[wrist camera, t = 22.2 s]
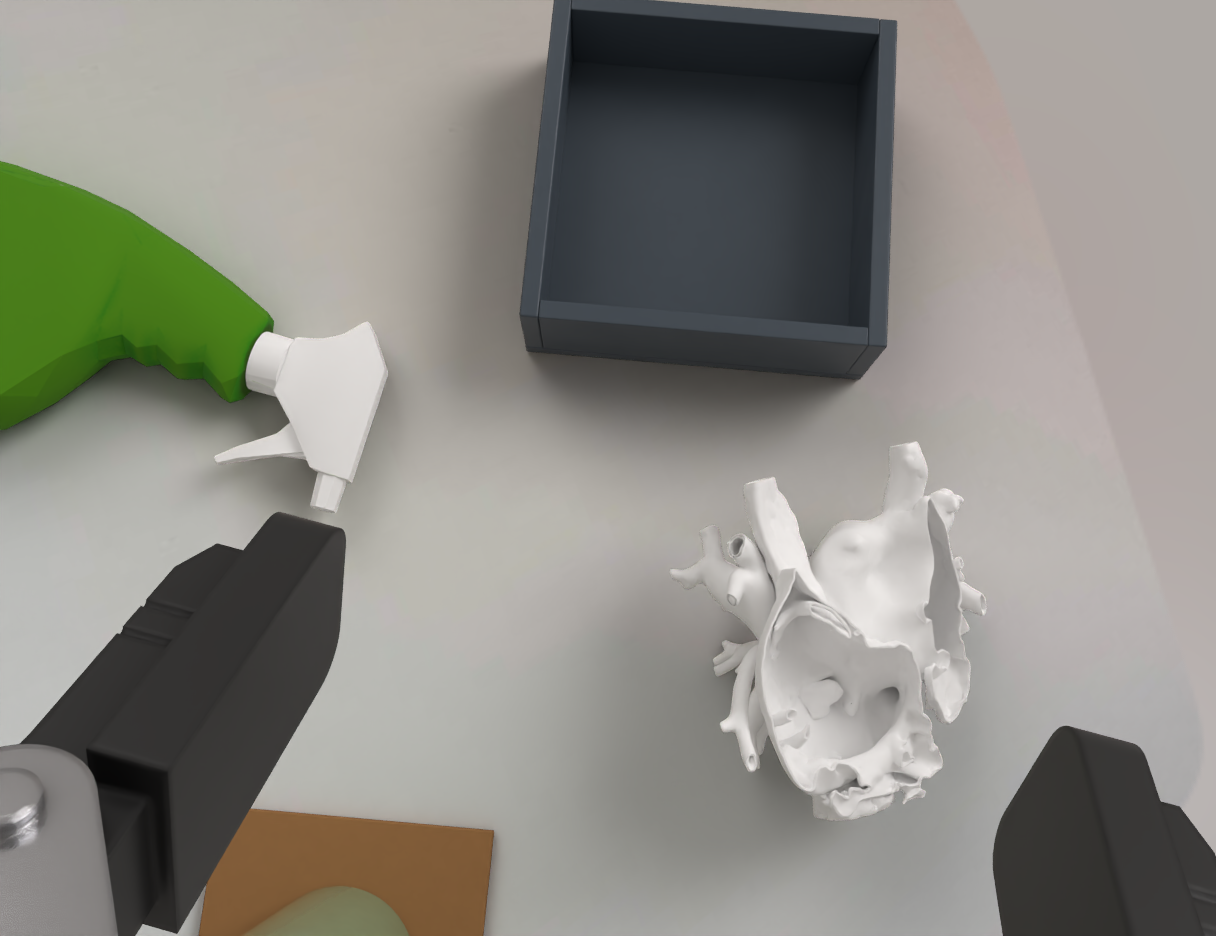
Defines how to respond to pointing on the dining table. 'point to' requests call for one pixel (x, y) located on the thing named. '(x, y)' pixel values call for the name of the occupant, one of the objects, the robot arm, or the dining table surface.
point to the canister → (333, 916)
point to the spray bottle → (165, 328)
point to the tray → (713, 188)
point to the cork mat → (351, 870)
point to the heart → (845, 640)
